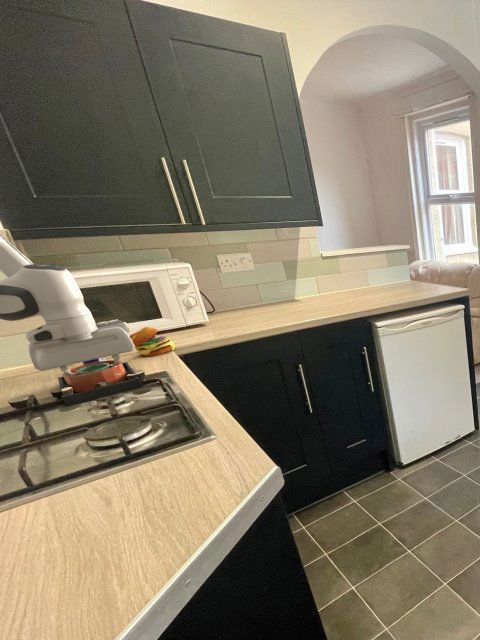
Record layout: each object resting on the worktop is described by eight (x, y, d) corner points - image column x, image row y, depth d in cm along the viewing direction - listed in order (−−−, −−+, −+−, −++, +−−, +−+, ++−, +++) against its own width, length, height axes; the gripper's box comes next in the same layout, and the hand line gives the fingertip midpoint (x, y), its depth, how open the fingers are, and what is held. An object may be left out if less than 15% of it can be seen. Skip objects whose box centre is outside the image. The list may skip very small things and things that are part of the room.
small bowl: (85, 389, 113) (77, 374, 111) (82, 383, 117) (75, 368, 115) (118, 381, 117) (111, 366, 115) (114, 375, 122) (107, 361, 120)
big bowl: (74, 399, 110) (64, 380, 107) (70, 387, 117) (61, 369, 115) (132, 384, 118) (124, 366, 115) (125, 374, 125) (118, 357, 123)
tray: (66, 406, 106) (61, 397, 105) (62, 385, 119) (57, 377, 118) (142, 386, 116) (138, 378, 115) (130, 369, 129) (126, 361, 128)
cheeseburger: (174, 352, 142) (154, 326, 137) (139, 366, 138) (117, 340, 133) (178, 344, 150) (160, 319, 145) (145, 357, 146) (125, 332, 141)
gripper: (122, 316, 119) (142, 361, 125) (18, 334, 106) (45, 384, 112) (125, 319, 115) (145, 366, 121) (17, 338, 102) (46, 390, 108)
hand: (96, 374), depth 116 cm, fingers closed on small bowl, 7 cm apart
